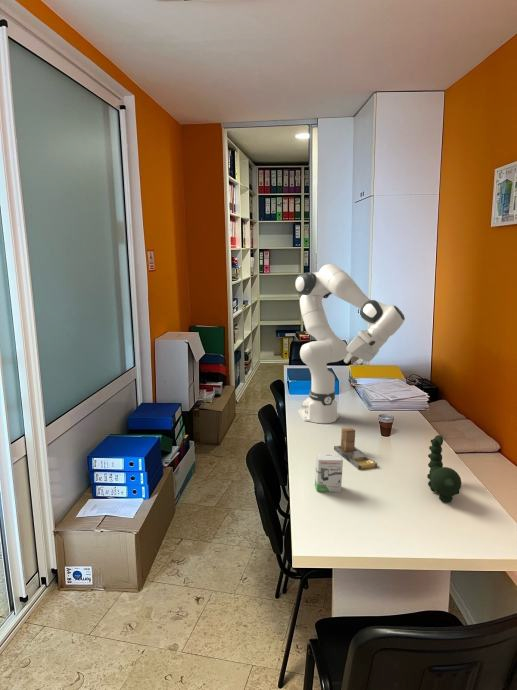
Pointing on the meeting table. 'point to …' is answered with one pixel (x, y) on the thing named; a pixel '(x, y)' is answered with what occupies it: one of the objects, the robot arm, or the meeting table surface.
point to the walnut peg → (347, 439)
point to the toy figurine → (442, 473)
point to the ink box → (328, 472)
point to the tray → (357, 458)
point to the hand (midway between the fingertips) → (349, 364)
